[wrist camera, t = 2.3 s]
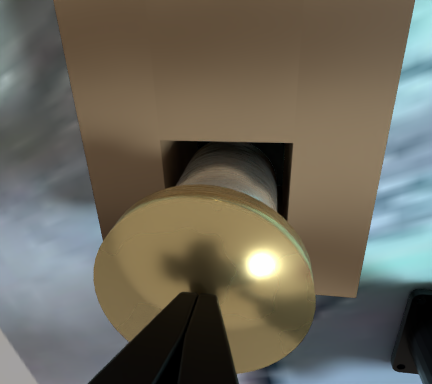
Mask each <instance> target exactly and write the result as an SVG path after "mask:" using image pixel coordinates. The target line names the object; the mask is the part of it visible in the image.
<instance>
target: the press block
mask: <svg viewBox="0 0 432 384" xmlns="http://www.w3.org/2000/svg"><path fill="white" fill-rule="evenodd" d="M53 1H54V6H55V11H56V16H57V21H58V26H59V30H60V35H61V40H62V45H63V50H64V55H65V59H66V64H67V69H68V74H69V79H70V84H71V88H72V93H73V98H74V103H75V108H76V112H77V117H78V122H79V127H80V132H81V137H82V141H83V146H84V151H85V156H86V161H87V166H88V170H89V175H90V180H91V185H92V190H93V195H94V199H95V204H96V209H97V214H98V219H99V224H100V228H101V233H102V238H103V241H104V239H105V238H106V236H107V235H108V234H109V232H110V231H111V230H112V228H113V227H114V226H115V224H116V223H117V222H118V220H119V219H120V218H121V216H122V215H123V214H124V213H125V212H126V211H127V210H128V209H129V208H130V207H131V206H132V205H133V204H135V203H136V202H137V201H139V200H141V199H142V198H144V197H145V196H147V195H150V194H152V193H154V192H157V191H159V190H162V189H166V188H170V187H174V186H176V184H177V183H178V181H179V179H180V177H181V176H182V174H183V172H184V170H185V169H186V167H187V165H188V163H189V162H190V160H191V158H192V157H193V155H194V154H195V153H196V152H197V151H198V146H197V141H222V142H270V143H285V144H284V160H283V176H282V186H277V213H278V214H280V215H281V216H282V217H283V218H284V219H285V220H286V221H287V222H288V223H289V224H290V225H291V226H292V227H293V228H294V230H295V231H296V233H297V234H298V235H299V237H300V238H301V240H302V242H303V244H304V246H305V248H306V250H307V252H308V256H309V259H310V262H311V268H312V275H313V282H314V289H315V295H327V296H339V297H352V298H356V295H357V290H358V285H359V280H360V275H361V270H362V265H363V260H364V255H365V250H366V245H367V240H368V235H369V230H370V225H371V220H372V215H373V209H374V204H375V199H376V194H377V189H378V184H379V179H380V174H381V169H382V164H383V159H384V154H385V149H386V144H387V139H388V134H389V129H390V124H391V119H392V114H393V109H394V104H395V99H396V94H397V89H398V84H399V79H400V74H401V69H402V64H403V58H404V53H405V48H406V43H407V38H408V33H409V28H410V23H411V18H412V13H413V8H414V3H415V0H53Z"/></svg>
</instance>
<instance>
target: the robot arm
mask: <svg viewBox="0 0 432 384" xmlns="http://www.w3.org/2000/svg"><path fill="white" fill-rule="evenodd" d="M419 298H422V299H419ZM391 365H392V368H393V369H394V370H395V371H397V372H403V373H413V374H419V376H420V378H421V381H422V383H423V384H432V290H423V289H418V290H414V291H413V292H411V294H410V295H409V299H408V302H407V306H406V309H405V313H404V316H403V320H402V323H401V327H400V330H399V334H398V337H397V340H396V344H395V347H394V351H393V354H392V358H391ZM88 384H239V382H238V378H237V374H236V370H235V366H234V362H233V357H232V353H231V349H230V345H229V341H228V337H227V333H226V329H225V325H224V321H223V317H222V312H221V308H220V304H219V300H218V297H217V295H215V294H206V293H201V294H200V295H198V294H197V293H194V292H181V293H179V294H178V295H177V296H176V297H175V298H174V299H173V300H172V301H171V302H170V303H169V304H168V305H167V306H166V307H165V308H164V309H163V310H162V311H161V312H160V313H159V314H158V315H157V316H156V317H155V318H154V319H153V320H152V321H151V322H150V323H149V324H148V325H146V326H145V327H144V328H143V329H142V330H141V331H140V332H139V333H138V334H137V335H136V336H135V337H134V338H133V339H132V340H131V341H130V342H129V343H128V344H127V345H126V346H125V347H124V348H123V349H122V350H121V351H120V352H119V353H118V354H117V355H116V356H115V357H114V358H113V359H112V360H111V361H110V362H109V363H108V364H107V365H106V366H105V367H104V368H103V369H102V370H101V371H100V372H99V373H98V374H97V375H96V376H95V377H94V378H93V379H92V380H91V381H90V382H89V383H88Z"/></svg>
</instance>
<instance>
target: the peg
mask: <svg viewBox="0 0 432 384" xmlns="http://www.w3.org/2000/svg"><path fill="white" fill-rule="evenodd" d="M94 286H95V291H96V295H97V298H98V301H99V303H100V305H101V307H102V310H103V312H104V313H105V315H106V316H107V318H108V320H109V321H110V322H111V324H112V325H113V326H114V327H115V329H116V330H117V331H118V332H119V333H120V334H121V335H122V336H123V337H124V338H125V339H126V340H128V341H129V342H130V341H131V340H132V339H133V338H134V337H135V336H136V335H137V334H138V333H139V332H140V331H141V330H142V329H143V328H144V327H145V326H146V325H148V324H149V323H150V322H151V321H152V320H153V319H154V318H155V317H156V316H157V315H158V314H159V313H160V312H161V311H162V310H163V309H164V308H165V307H166V306H167V305H168V304H169V303H170V302H171V301H172V300H173V299H174V298H175V297H176V296H177V295H178V294H179V293H181V292H194V293H197V294H198V295H200V294H201V293H206V294H215V295H217V297H218V300H219V304H220V308H221V312H222V317H223V321H224V325H225V329H226V333H227V337H228V341H229V345H230V349H231V353H232V357H233V362H234V366H235V370H236V374H238V373H245V372H250V371H254V370H258V369H261V368H264V367H266V366H269V365H271V364H273V363H275V362H277V361H279V360H280V359H282V358H284V357H285V356H287V355H288V354H289V353H290V352H292V351H293V350H294V349H295V348H296V347H297V346H298V345H299V344H300V343H301V341H302V340H303V339H304V337H305V336H306V334H307V332H308V331H309V328H310V326H311V324H312V321H313V317H314V313H315V304H316V296H315V289H314V282H313V275H312V268H311V262H310V259H309V256H308V252H307V250H306V248H305V246H304V244H303V242H302V240H301V238H300V237H299V235H298V234H297V233H296V231H295V230H294V228H293V227H292V226H291V225H290V224H289V223H288V222H287V221H286V220H285V219H284V218H283V217H282V216H281V215H280V214H278V213H277V178H276V172H275V169H274V167H273V165H272V163H271V161H270V160H269V158H268V157H267V156H266V155H265V154H264V153H263V152H262V151H261V150H260V149H259V148H257V147H256V146H254V145H252V144H250V143H248V142H222V141H213V142H211V143H208V144H206V145H205V146H203V147H202V148H200V149H199V150H198V151H197V152H196V153H195V154H194V155H193V157H192V158H191V160H190V162H189V163H188V165H187V167H186V169H185V170H184V172H183V174H182V176H181V177H180V179H179V181H178V183H177V184H176V186H174V187H170V188H166V189H162V190H159V191H157V192H154V193H152V194H150V195H147V196H145V197H144V198H142V199H141V200H139V201H137V202H136V203H135V204H133V205H132V206H131V207H130V208H129V209H128V210H127V211H126V212H125V213H124V214H123V215H122V216H121V218H120V219H119V220H118V222H117V223H116V224H115V226H114V227H113V228H112V230H111V231H110V232H109V234H108V235H107V236H106V238H105V239H104V241H103V243H102V244H101V246H100V248H99V250H98V253H97V256H96V259H95V264H94Z"/></svg>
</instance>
